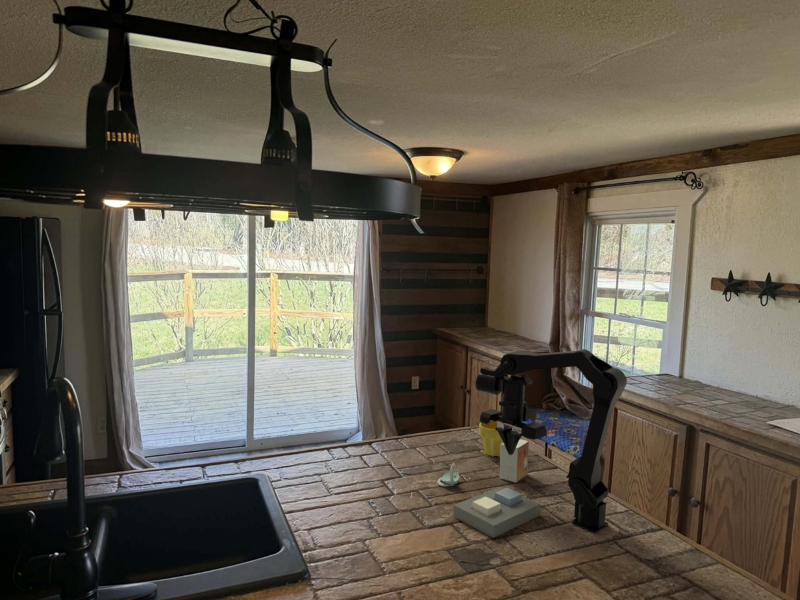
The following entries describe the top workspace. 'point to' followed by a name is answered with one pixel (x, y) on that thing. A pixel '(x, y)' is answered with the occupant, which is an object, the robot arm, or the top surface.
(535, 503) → the keypad
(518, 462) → the small box
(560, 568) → the top surface
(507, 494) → the slate key
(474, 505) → the cream key
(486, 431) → the plant pot
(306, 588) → the top surface
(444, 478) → the pacifier
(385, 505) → the top surface
